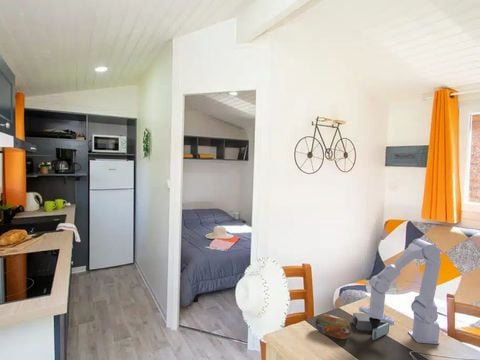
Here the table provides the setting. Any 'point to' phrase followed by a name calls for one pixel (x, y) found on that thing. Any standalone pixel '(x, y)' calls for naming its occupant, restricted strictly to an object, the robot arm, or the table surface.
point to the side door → (380, 331)
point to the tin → (333, 326)
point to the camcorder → (364, 321)
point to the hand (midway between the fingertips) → (374, 333)
